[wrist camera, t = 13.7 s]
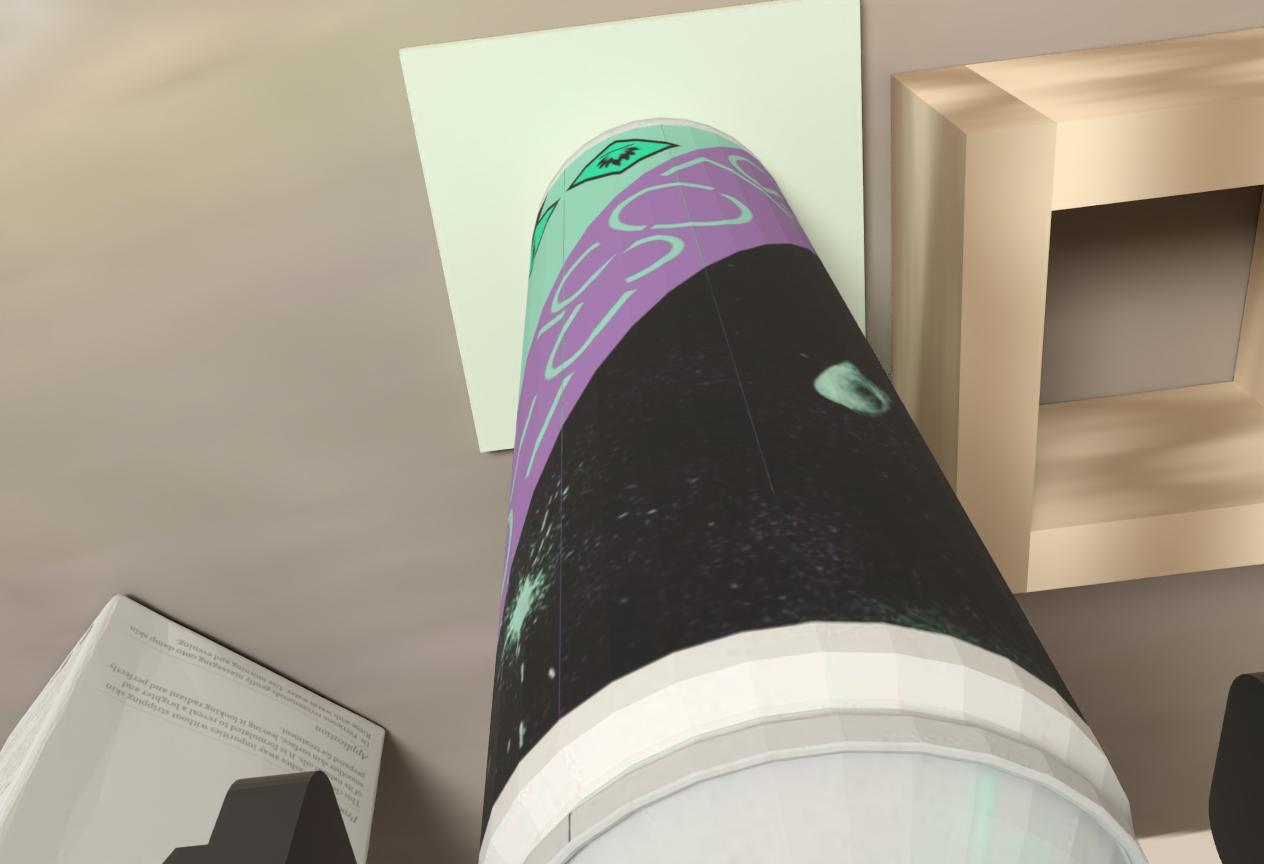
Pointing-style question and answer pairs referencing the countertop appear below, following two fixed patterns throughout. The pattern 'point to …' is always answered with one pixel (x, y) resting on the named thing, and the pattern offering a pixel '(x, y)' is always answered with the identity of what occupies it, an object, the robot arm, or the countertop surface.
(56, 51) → the countertop surface
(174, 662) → the skincare box
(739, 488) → the spray can
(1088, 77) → the wooden box holder
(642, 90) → the mat
